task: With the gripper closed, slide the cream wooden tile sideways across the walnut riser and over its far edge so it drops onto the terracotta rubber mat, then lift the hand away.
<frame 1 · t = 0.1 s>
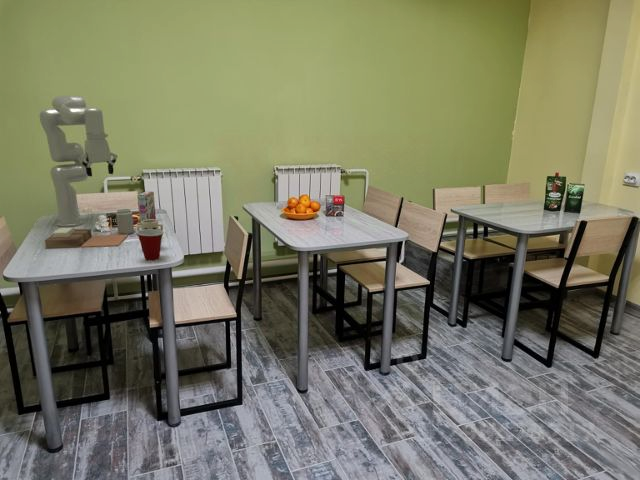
hand: (100, 175, 219), 31 cm above the table, tool pointing down, fingers open, 9 cm apart
plastic cup: (152, 258, 202), on the table
brown flat block: (69, 242, 224), on the table
candy bar box: (148, 223, 261), on the table
mat: (105, 241, 226), on the table
character mug: (152, 249, 215), on the table
tile: (63, 232, 222), point 5 cm above the table, touching brown flat block
can: (126, 233, 240), on the table
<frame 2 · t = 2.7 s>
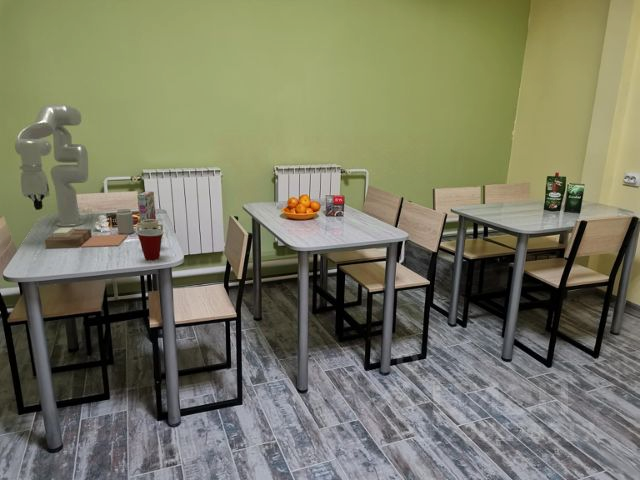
hand: (38, 209, 218), 16 cm above the table, tool pointing down, fingers closed
nothing on the table moved.
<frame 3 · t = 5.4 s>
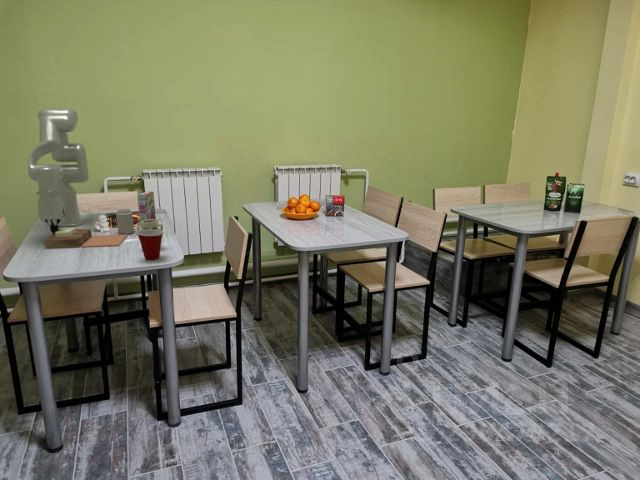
hand: (55, 232, 222), 5 cm above the table, tool pointing down, fingers closed
tile: (65, 232, 223), point 5 cm above the table
everything else where it was.
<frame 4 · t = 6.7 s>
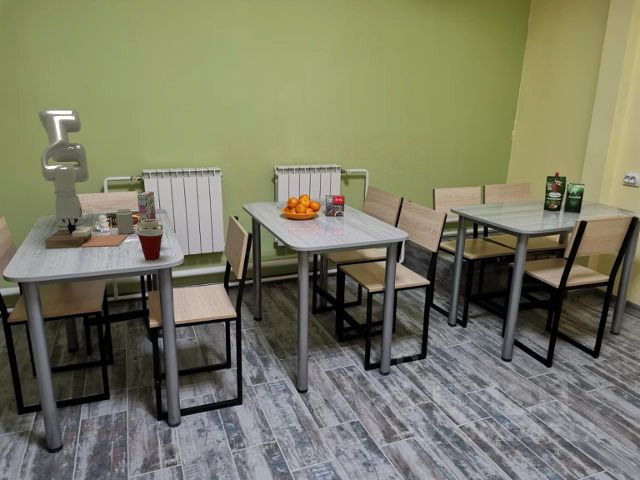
hand: (72, 232, 223), 5 cm above the table, tool pointing down, fingers closed
tile: (82, 231, 223), point 5 cm above the table, touching brown flat block
everything else where it was.
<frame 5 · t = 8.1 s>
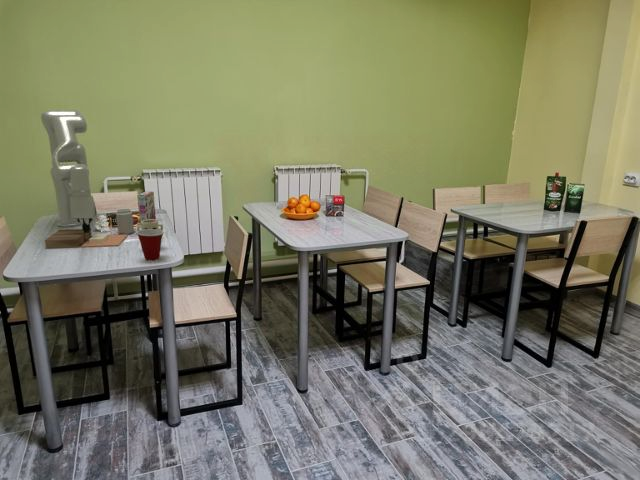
hand: (86, 232, 224), 5 cm above the table, tool pointing down, fingers closed
tile: (99, 238, 225), point 2 cm above the table, tilted 180°, touching mat
everything else where it was.
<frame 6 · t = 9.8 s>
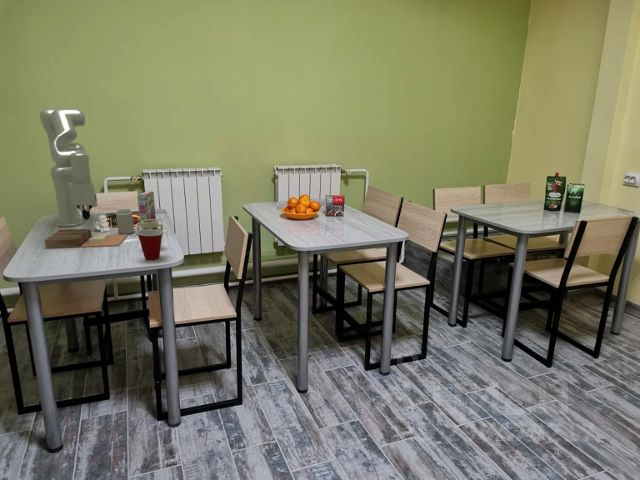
hand: (86, 218, 223), 11 cm above the table, tool pointing down, fingers closed
nothing on the table moved.
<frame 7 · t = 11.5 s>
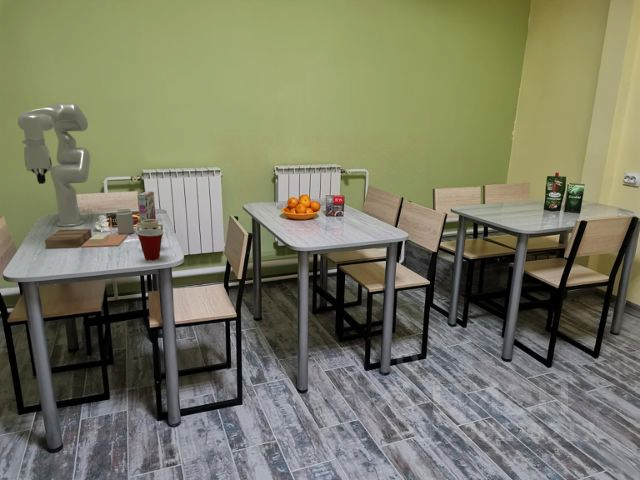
hand: (42, 183, 223), 27 cm above the table, tool pointing down, fingers closed
nothing on the table moved.
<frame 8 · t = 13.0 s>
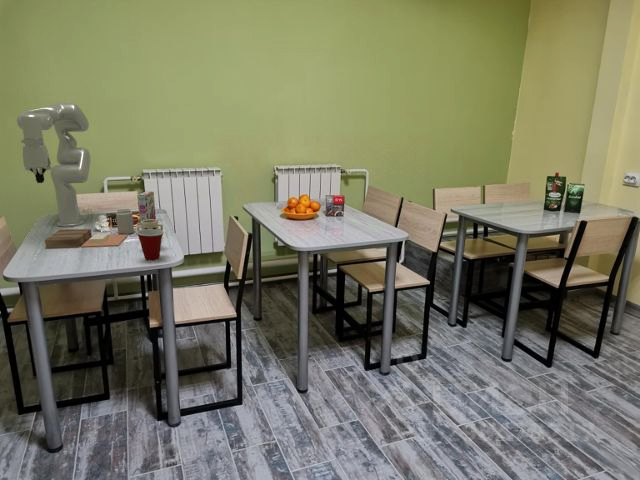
hand: (40, 182, 223), 27 cm above the table, tool pointing down, fingers closed
nothing on the table moved.
at the end: tile inside the target area on the mat (2.6 cm from its centre), point 1.6 cm above the mat's base; tile point 1.6 cm above the table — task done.
